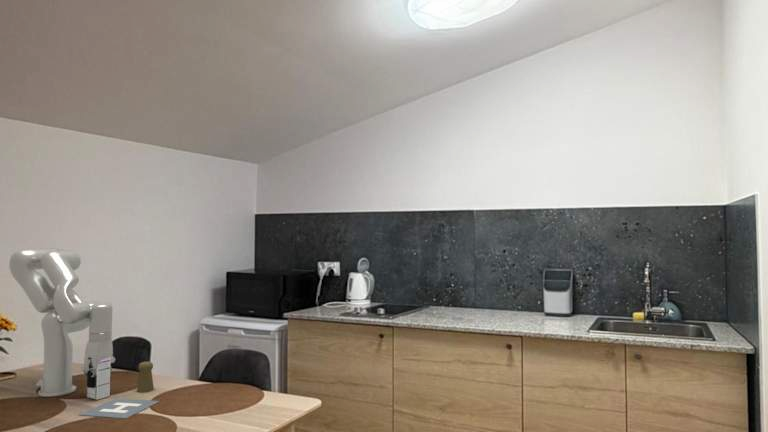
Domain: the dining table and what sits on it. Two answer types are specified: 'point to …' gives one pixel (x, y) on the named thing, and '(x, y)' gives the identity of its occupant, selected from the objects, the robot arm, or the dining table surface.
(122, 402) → the letter sheet
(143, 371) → the cork
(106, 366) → the syrup box
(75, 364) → the dining table surface
